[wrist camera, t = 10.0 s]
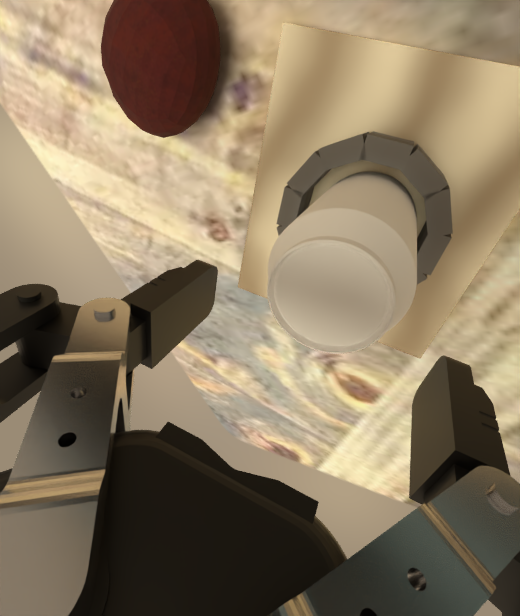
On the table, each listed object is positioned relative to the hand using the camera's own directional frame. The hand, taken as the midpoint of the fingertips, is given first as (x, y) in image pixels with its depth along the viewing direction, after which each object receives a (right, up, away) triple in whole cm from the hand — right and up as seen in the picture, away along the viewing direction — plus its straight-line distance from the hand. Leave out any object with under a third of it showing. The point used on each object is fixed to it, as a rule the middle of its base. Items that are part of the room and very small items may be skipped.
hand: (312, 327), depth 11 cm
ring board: (+6, +7, +11) cm, 15 cm away
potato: (-7, +18, +11) cm, 22 cm away
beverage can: (+5, +7, +11) cm, 14 cm away
